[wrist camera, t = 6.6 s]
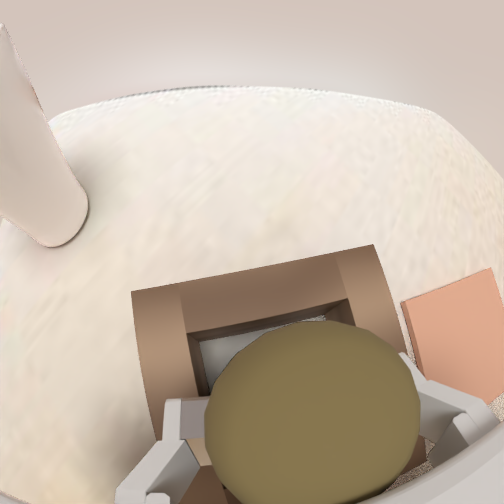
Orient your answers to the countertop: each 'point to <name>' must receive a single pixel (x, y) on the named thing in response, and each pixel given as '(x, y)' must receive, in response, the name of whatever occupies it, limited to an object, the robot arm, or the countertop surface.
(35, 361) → the countertop surface
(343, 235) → the countertop surface
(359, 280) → the walnut socket block
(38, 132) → the drinking glass
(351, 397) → the cork
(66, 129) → the countertop surface
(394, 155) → the countertop surface
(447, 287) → the terracotta tile
